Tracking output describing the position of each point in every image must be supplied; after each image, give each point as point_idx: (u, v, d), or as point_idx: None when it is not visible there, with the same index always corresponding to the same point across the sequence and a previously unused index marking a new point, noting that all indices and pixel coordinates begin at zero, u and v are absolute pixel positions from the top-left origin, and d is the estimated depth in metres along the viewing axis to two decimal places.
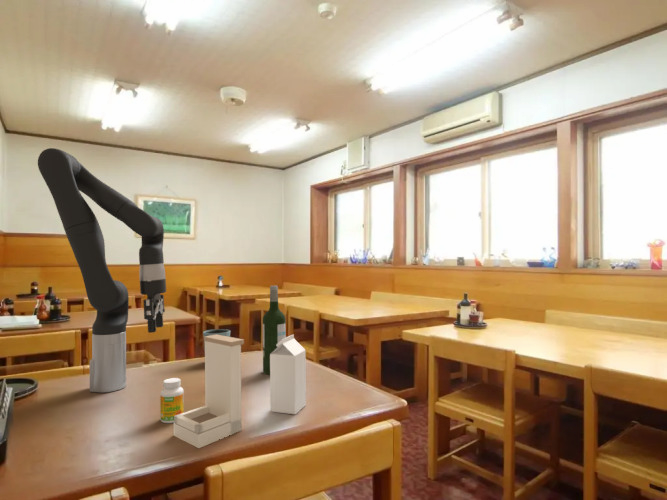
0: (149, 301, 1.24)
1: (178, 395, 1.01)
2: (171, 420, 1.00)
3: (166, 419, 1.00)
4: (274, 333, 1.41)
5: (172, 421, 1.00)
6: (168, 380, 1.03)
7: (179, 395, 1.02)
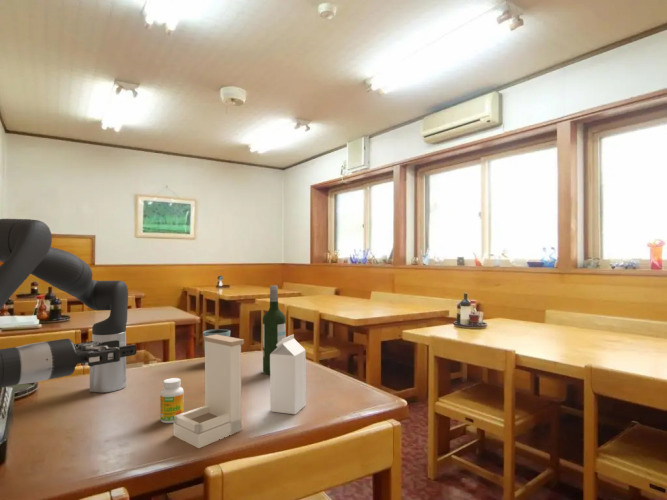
0: None
1: (179, 395, 1.01)
2: (171, 420, 1.00)
3: (166, 419, 1.00)
4: (274, 333, 1.41)
5: (172, 421, 1.00)
6: (168, 380, 1.03)
7: (179, 395, 1.02)
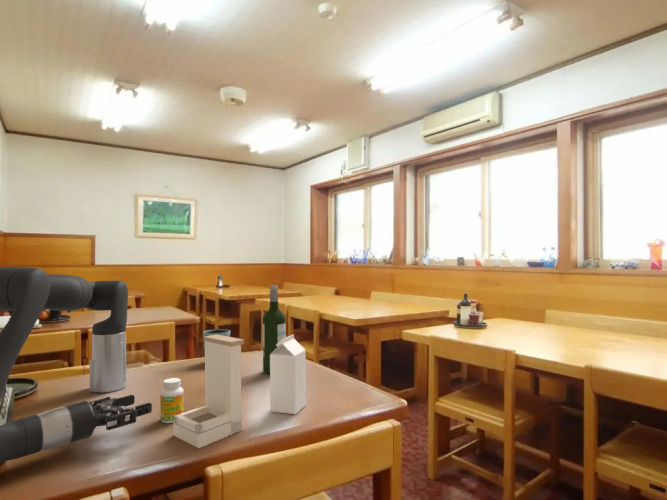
0: None
1: (178, 395, 1.01)
2: (171, 420, 1.00)
3: (166, 419, 1.00)
4: (274, 333, 1.41)
5: (172, 421, 1.00)
6: (168, 380, 1.03)
7: (179, 395, 1.02)
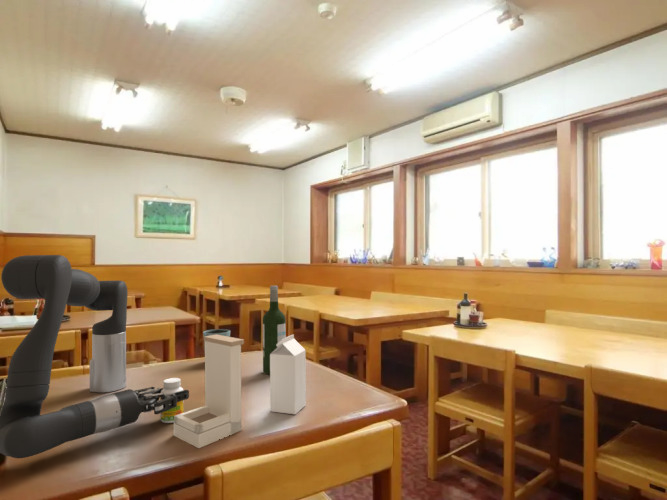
0: None
1: None
2: (171, 420, 1.00)
3: (166, 419, 1.00)
4: (274, 333, 1.41)
5: (172, 421, 1.00)
6: (168, 380, 1.03)
7: None
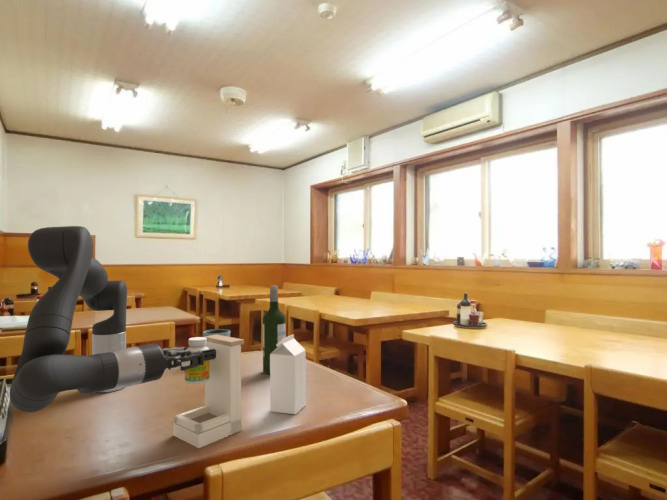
0: None
1: None
2: (196, 380, 0.92)
3: (191, 379, 0.92)
4: (274, 333, 1.41)
5: (198, 382, 0.92)
6: (193, 338, 0.95)
7: None
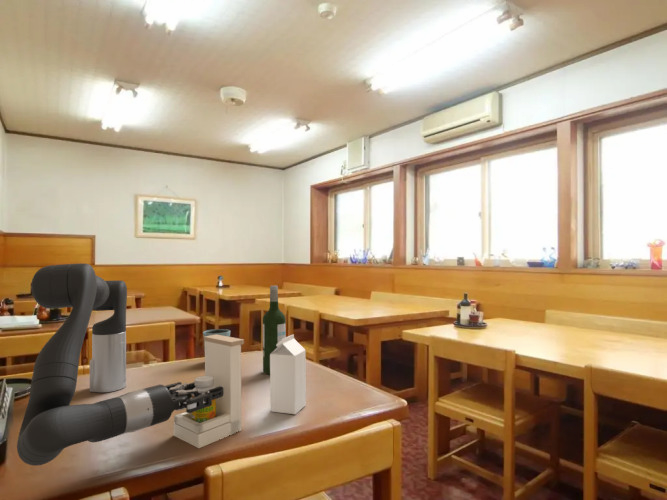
0: None
1: None
2: None
3: (198, 421, 0.91)
4: (274, 333, 1.41)
5: None
6: (200, 378, 0.94)
7: None
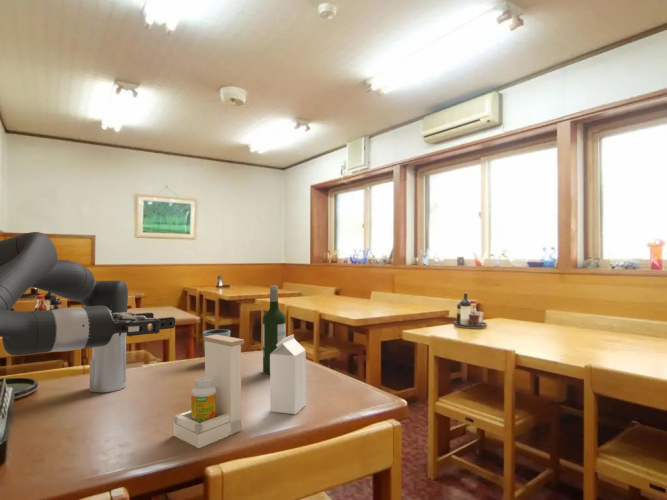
0: None
1: (211, 394, 0.92)
2: None
3: (198, 421, 0.91)
4: (274, 333, 1.41)
5: None
6: (200, 378, 0.94)
7: (212, 395, 0.93)
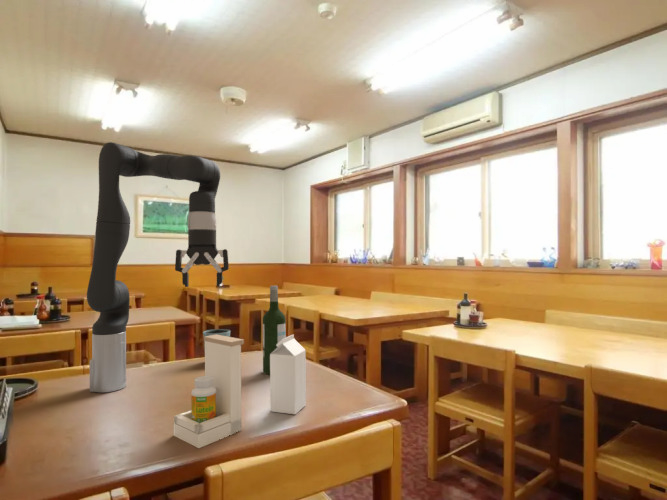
0: None
1: (211, 394, 0.92)
2: None
3: (198, 421, 0.91)
4: (274, 333, 1.41)
5: None
6: (200, 378, 0.94)
7: (212, 395, 0.93)
